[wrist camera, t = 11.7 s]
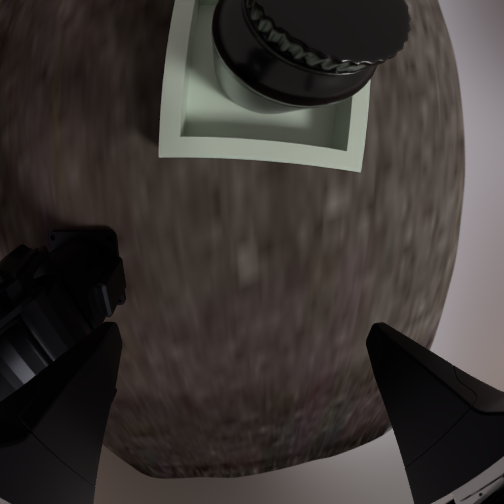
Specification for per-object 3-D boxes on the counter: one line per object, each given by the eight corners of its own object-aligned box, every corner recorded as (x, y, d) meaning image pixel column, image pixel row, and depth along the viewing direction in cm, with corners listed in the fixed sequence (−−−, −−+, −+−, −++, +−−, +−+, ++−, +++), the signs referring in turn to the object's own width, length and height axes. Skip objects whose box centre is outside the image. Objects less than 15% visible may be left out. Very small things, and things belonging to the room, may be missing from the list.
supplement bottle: (195, 51, 14) (163, -52, 3) (285, 14, 13) (361, -83, 2) (246, 134, 17) (294, 139, 6) (332, 93, 16) (464, 72, 5)
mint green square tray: (167, 153, 17) (158, 157, 14) (184, -5, 12) (180, -23, 9) (342, 165, 19) (360, 172, 16) (353, 18, 14) (370, 7, 11)
